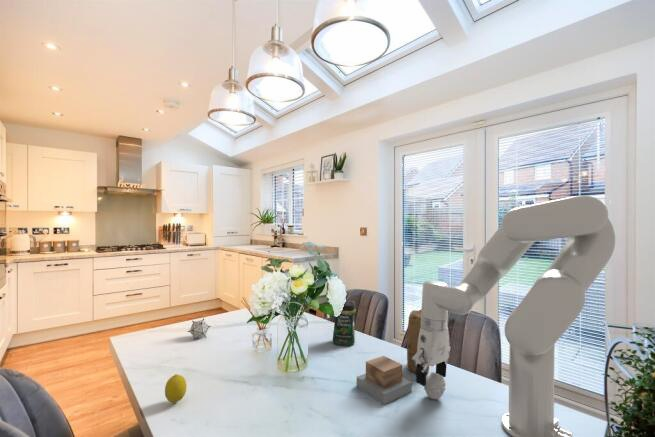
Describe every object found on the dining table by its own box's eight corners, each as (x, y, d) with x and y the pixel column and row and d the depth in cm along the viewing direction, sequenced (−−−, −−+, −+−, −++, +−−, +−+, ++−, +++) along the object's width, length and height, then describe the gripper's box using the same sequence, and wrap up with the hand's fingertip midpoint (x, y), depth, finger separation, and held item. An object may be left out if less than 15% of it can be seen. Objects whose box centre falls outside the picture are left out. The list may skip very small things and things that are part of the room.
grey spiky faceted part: (194, 347, 136) (179, 330, 134) (206, 334, 143) (192, 317, 142) (206, 341, 132) (191, 323, 131) (218, 327, 140) (204, 310, 138)
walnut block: (402, 381, 96) (402, 364, 96) (384, 388, 91) (384, 371, 91) (383, 370, 102) (383, 355, 103) (365, 377, 98) (365, 361, 98)
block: (428, 376, 105) (428, 317, 105) (405, 372, 108) (406, 314, 108) (431, 363, 115) (431, 309, 115) (410, 359, 118) (411, 307, 118)
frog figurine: (450, 398, 92) (450, 374, 92) (437, 406, 88) (437, 382, 88) (431, 389, 97) (431, 367, 97) (418, 397, 92) (418, 373, 93)
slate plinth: (411, 391, 96) (411, 382, 96) (384, 404, 88) (384, 394, 89) (383, 375, 105) (383, 367, 105) (356, 386, 98) (356, 376, 98)
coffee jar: (331, 345, 131) (331, 301, 131) (334, 338, 139) (335, 297, 139) (353, 347, 129) (354, 303, 129) (356, 340, 136) (356, 298, 137)
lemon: (180, 395, 92) (181, 368, 92) (189, 402, 88) (190, 374, 88) (161, 403, 87) (161, 374, 88) (169, 411, 84) (170, 381, 84)
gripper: (426, 332, 85) (423, 394, 85) (461, 322, 95) (458, 377, 95) (404, 323, 91) (401, 381, 91) (440, 314, 101) (437, 367, 101)
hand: (430, 379), depth 93 cm, fingers open, 9 cm apart
